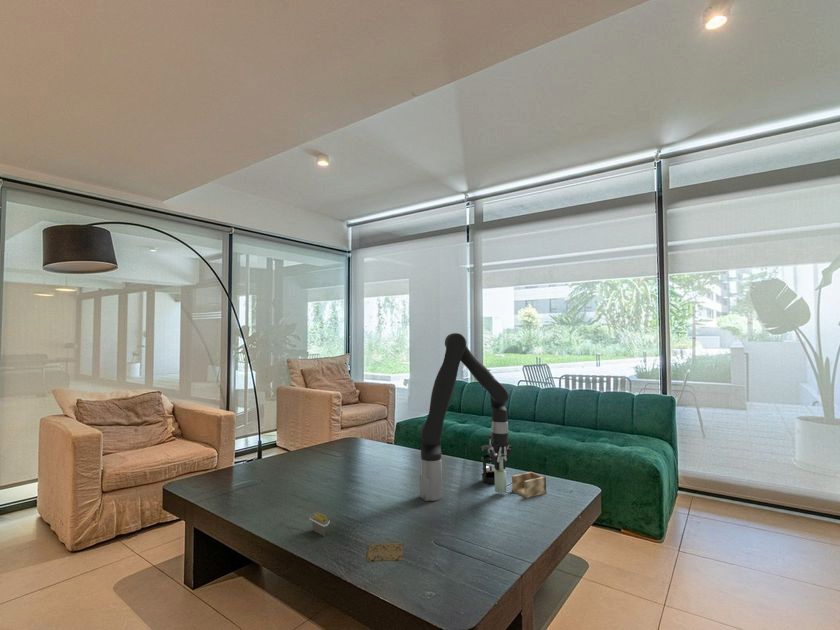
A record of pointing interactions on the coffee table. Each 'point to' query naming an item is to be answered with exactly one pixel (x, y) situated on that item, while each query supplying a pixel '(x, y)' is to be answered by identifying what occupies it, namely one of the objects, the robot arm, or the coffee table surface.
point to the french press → (488, 471)
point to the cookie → (385, 552)
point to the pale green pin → (500, 477)
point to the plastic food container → (319, 523)
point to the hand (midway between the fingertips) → (500, 469)
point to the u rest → (529, 484)
